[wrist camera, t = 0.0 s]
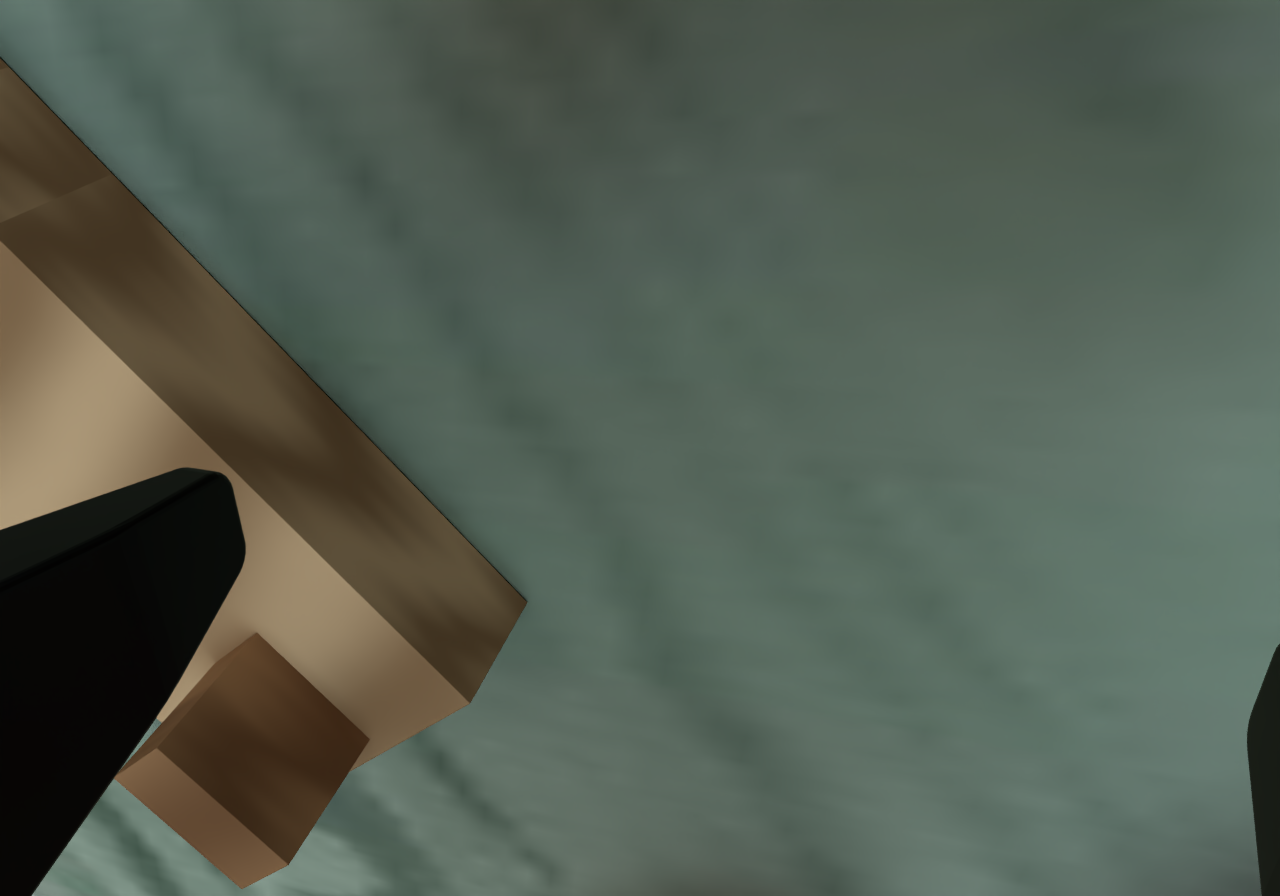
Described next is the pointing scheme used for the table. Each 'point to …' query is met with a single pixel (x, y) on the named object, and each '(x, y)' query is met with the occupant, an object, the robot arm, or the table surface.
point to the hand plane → (266, 499)
